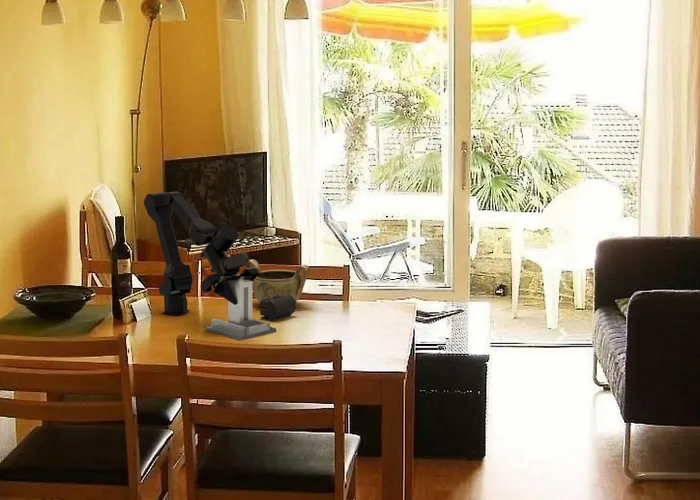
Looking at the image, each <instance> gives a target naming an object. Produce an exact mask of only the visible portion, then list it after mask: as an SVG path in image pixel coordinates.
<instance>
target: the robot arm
mask: <svg viewBox="0 0 700 500" xmlns="http://www.w3.org/2000/svg"><path fill="white" fill-rule="evenodd" d="M183 196H184V195H183V193H182V192H179V191H170V192H169V191H168V192H166V191H164V192H152V193H147V194H146V196H145V197H144V199H143V205H144V207H145V211H146V213H147V215H148V217H150V218H151V219H152V221H153V222H154V223H155V228H156V231H157V232H156V233H157V235H158V238H159V243H160V247H161V251H162V255H163V258H164V262H165V268H164V271H163V281H162V283H161V285H160V286H159V287H158V292H159V295H160V296H163V298H164V299H163V301H164V302H163V303H164V304H163V307H164V310H162V311H161V314H163V315H171V316H172V315H174V316H181V315H183V314H186V313H189V311H190V309H188V298H187V294H190V293H191V289H192V286H193V285H192V284H193V274H192V272H191V271H192V270H191V266H190V265H189V264H185V263H184V262H183V260H182V258H181V254H180V251H179V245H178V242H177V239H176V236H175V235H176V234H175V232H174V226H173V223H172V220H171V217H172V213H173V212H174V213H175V215H176V216H177V217H178V218H179V219H180V220H181V222H182V223H183V225H185V226H186V228H187V229H188V237H189V238H190V240H191V241H192V242H193V244H194V245H195V246H199V247H200V246H204V248H201V253H200V259H203V258H206V259H207V261H208V263H209V264H210V266H211V268H210V272H211V274H207V275H206V276H205V278H203V280H202V282H201V283H200V289H201V291H202V293H203V294H207V293H211V292H212V294H216V295H218V296H219V297H221V298H224V300H226V301H229V302H231V303H233V304H234V305H236V304H237V301H236V298H235V297H234V295H233V293H232V291H231V289H230V287H229V281H231V280H237V279H245V280H249V281H252V282H253V281H254V280H255V278H256V277H257V276H258V275H259V272H258V270H257V269H256V268H254V266H253V267H252V266H251V268H244V269H243V271H242V272H241V273H239V272H240V271H241V268H242V267H245V265H246V263H248V262H249V260H250V258H249V256H248V254H247V253H246V252H240V253H238V255H234V256H229V255H228V254H227V252H228V251H229V250H230V249H231V248H232V247H233V245H234V244H235V243H236V242H237V240H238V239H239V233H238V230H237V229H235V228H234V227H233V226H230V225H228V224H227V222H222V223H220V224H219V225H218V228H217V227H216V226H215V225H213V223H211V222H210V221H208V220H206V219H202V218H201V216H199V213H197V212H196V211H195V210H194V209H193V207H191V205H190V204H189V202H187V200H186V199H185V198H184V197H183Z"/></svg>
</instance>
